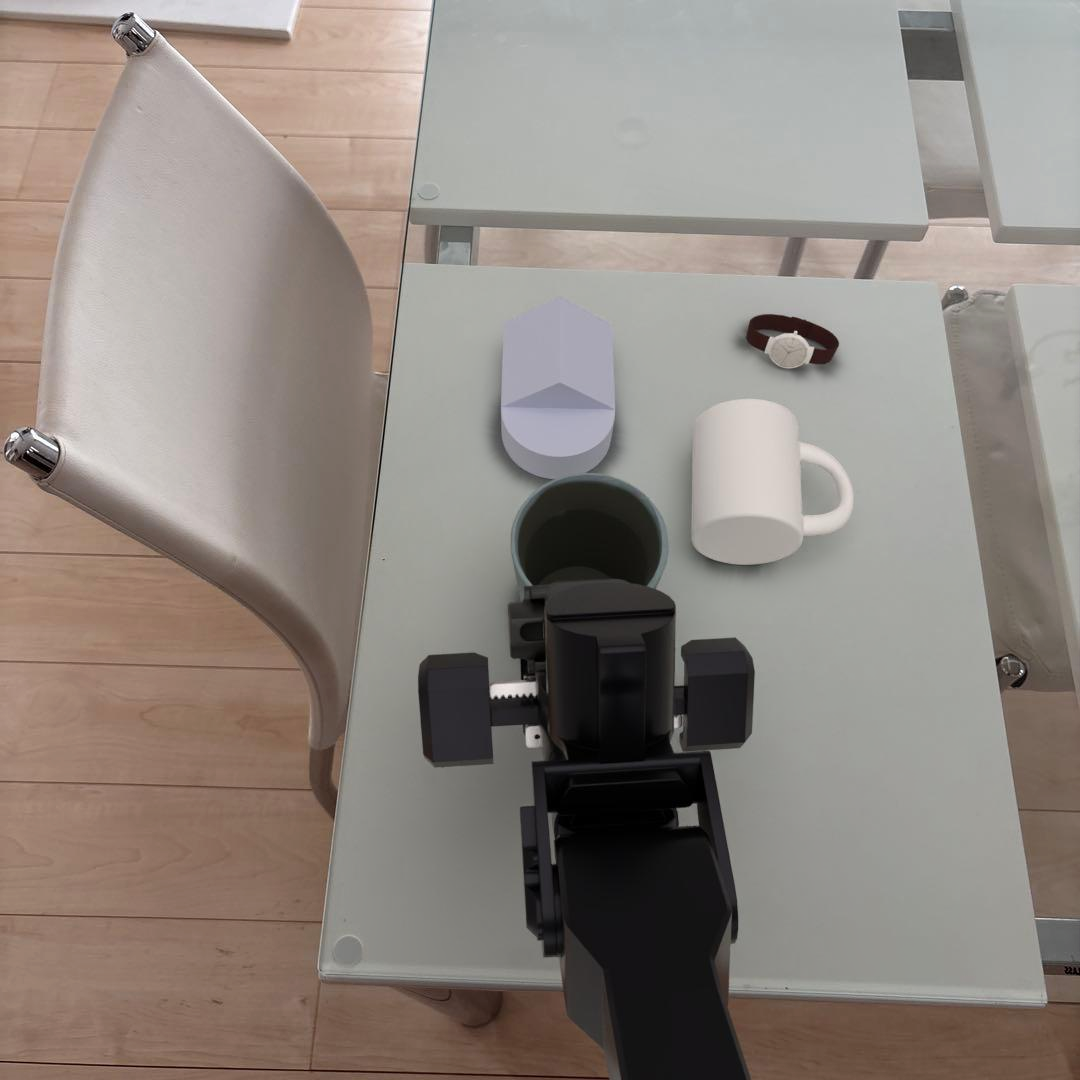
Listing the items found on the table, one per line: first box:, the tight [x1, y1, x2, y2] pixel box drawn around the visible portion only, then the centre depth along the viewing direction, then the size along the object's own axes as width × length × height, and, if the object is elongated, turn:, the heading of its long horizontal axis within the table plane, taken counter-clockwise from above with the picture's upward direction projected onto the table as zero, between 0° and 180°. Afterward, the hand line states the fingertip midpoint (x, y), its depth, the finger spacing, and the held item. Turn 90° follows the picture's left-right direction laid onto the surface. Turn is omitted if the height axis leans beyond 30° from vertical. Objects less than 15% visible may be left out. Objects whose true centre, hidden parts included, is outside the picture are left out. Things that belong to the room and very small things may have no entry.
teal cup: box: [510, 472, 670, 602], centre depth 65 cm, size 10×10×12 cm
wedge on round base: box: [500, 295, 616, 480], centre depth 76 cm, size 9×7×13 cm
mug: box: [690, 398, 855, 566], centre depth 72 cm, size 12×10×8 cm
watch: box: [745, 313, 840, 369], centre depth 81 cm, size 8×5×4 cm, turn 73°
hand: (571, 641), depth 62 cm, fingers closed
